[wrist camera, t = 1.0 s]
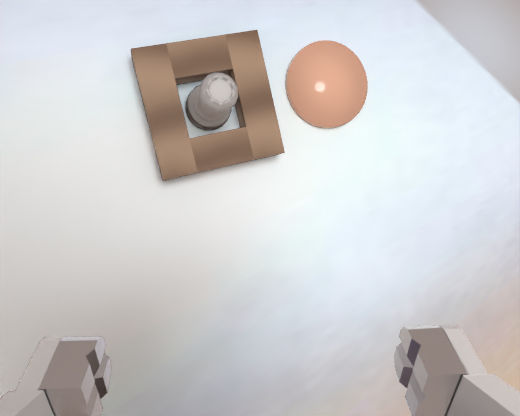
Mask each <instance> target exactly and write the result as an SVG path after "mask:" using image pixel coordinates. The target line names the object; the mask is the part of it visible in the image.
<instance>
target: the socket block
mask: <svg viewBox="0 0 520 416" xmlns="http://www.w3.org/2000/svg"><path fill="white" fill-rule="evenodd" d="M131 55H132V60H133V64H134V68H135V72H136V76H137V80H138V84H139V88H140V92H141V96H142V100H143V104H144V108H145V112H146V116H147V120H148V124H149V128H150V132H151V136H152V140H153V144H154V148H155V152H156V156H157V160H158V164H159V168H160V172H161V176H162V180H168V179H172V178H177V177H181V176H185V175H190V174H194V173H199V172H203V171H207V170H212V169H216V168H221V167H225V166H230V165H234V164H238V163H243V162H247V161H252V160H256V159H260V158H265V157H269V156H274V155H278V154H281V153H284V147H283V143H282V138H281V134H280V129H279V125H278V120H277V116H276V112H275V107H274V103H273V98H272V94H271V89H270V85H269V80H268V76H267V71H266V67H265V63H264V58H263V54H262V49H261V45H260V40H259V36H258V31H257V30H253V31H246V32H240V33H233V34H226V35H220V36H213V37H206V38H200V39H193V40H186V41H180V42H173V43H166V44H160V45H153V46H146V47H140V48H133V49H131ZM212 73H224V74H226V75H228V76H230V77H231V78H232V79H233V80H234V81H235V83H236V86H237V88H238V98H237V101H236V104H235V107H236V111H237V115H238V120H239V124H240V128H238V129H233V130H228V131H223V132H219V133H214V134H209V135H204V136H199V137H194V138H189V135H188V131H187V126H186V122H185V118H184V114H183V110H182V106H181V102H180V98H179V94H178V90H177V84H183V83H189V82H194V81H200V80H204V79H205V78H206V77H207V76H208V75H210V74H212Z"/></svg>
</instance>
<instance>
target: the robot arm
mask: <svg viewBox="0 0 520 416" xmlns="http://www.w3.org/2000/svg"><path fill="white" fill-rule="evenodd" d="M399 338H400V340H401V344H399V345H398V346H397V347H396V350H395V355H394V362H395V370H396V374H397V377H398V380H399V382H400V383H401V384H402V385H404V386H405V387H406V388H407V391H406V394H405V398H406V401H407V404H408V406H409V409H410V412H411V414H412V416H520V392H519V391H517V390H516V389H514V388H513V387H512V386H510V385H509V384H507V383H506V382H505V381H503V380H502V379H500V378H499V377H497V376H496V375H495V374H488V372H487V371H486V369H485V367H484V366H483V364H482V362H481V361H480V359H479V357H478V356H477V354H476V352H475V351H474V349H473V347H472V345H471V344H470V342H469V340H468V339H467V337H466V335H465V334H464V332H463V330H462V329H461V327H459V326H458V325H439V326H437V325H432V326H409V327H403V328H402V329H401V331H400V334H399ZM105 348H106V343H105V340H104V337H101V336H87V337H44V338H43V339H42V340H41V341H40V342H39V344H38V346H37V348H36V350H35V352H34V354H33V356H32V358H31V360H30V362H29V364H28V366H27V368H26V370H25V372H24V374H23V376H22V378H21V380H20V382H19V384H18V386H17V388H16V390H15V391H9V392H8V393H7V394H5V395H4V396H3V397H2V398H0V416H101V413H102V409H103V407H102V403H101V400H100V399H101V398H102V397H103V396H104V395H105V394H106V393H107V392H108V388H109V384H110V378H111V362H110V358H109V356H108V355H106V354H105V353H104V351H105Z"/></svg>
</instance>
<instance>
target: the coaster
mask: <svg viewBox="0 0 520 416" xmlns="http://www.w3.org/2000/svg"><path fill="white" fill-rule="evenodd" d="M286 91H287V96H288V99H289V101H290V104H291V106H292V107H293V109H294V110H295V112H296V113H297V114H298V115H299V116H300V117H301V118H302V119H303V120H304V121H306V122H308V123H309V124H311V125H314V126H317V127H321V128H333V127H337V126H341V125H343V124H345V123H347V122H349V121H351V120H352V119H353V118H354V117H355V116H356V115H357V114H358V113H359V112H360V110H361V109H362V107H363V105H364V102H365V100H366V96H367V77H366V73H365V70H364V67H363V65H362V63H361V61H360V60H359V58H358V57H357V56H356V55H355V54H354V52H352V51H351V50H350V49H349V48H347V47H346V46H344V45H342V44H340V43H337V42H334V41H326V40H324V41H317V42H314V43H311V44H309V45H307V46H306V47H304V48H303V49H302V50H301V51H300V52H298V54H297V55H296V56H295V57H294V58H293V60H292V61H291V63H290V65H289V68H288V71H287V75H286Z"/></svg>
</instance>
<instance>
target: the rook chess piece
mask: <svg viewBox="0 0 520 416" xmlns="http://www.w3.org/2000/svg"><path fill="white" fill-rule="evenodd" d="M237 98H238V88H237V86H236V83H235V81H234V80H233V79H232V78H231V77H230V76H228V75H226V74H224V73H212V74H210V75H208V76H207V77H206V78H205V79H204V80H203V81H202V83H201V85H199V86H197V87H196V88H195V89H194V90H193V91H192V92H191V93H190V94H189V96H188V98H187V101H186V112H187V114H188V117H189V119H190V120H191V121H192V122H193V123H194V124H195V125H196V126H197V127H199V128H202V129H204V130H214V129H217V128H219V127H222V126H223V124H224V123H225V122H226V121H227V120H228V118H229V116H230V113H231V108H232V107H233V106H234V105H235V104H236V101H237Z"/></svg>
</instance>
